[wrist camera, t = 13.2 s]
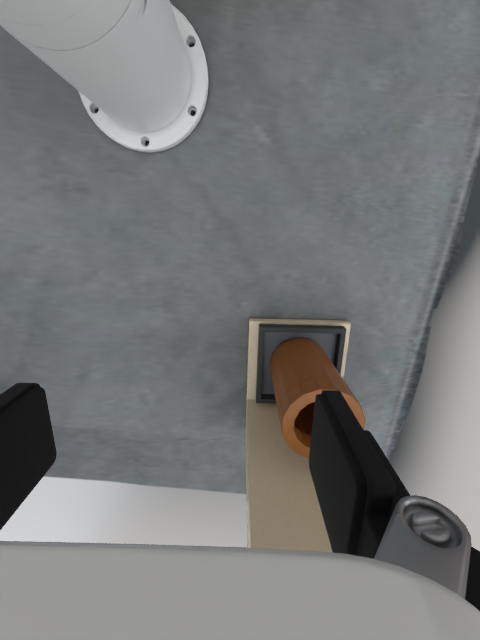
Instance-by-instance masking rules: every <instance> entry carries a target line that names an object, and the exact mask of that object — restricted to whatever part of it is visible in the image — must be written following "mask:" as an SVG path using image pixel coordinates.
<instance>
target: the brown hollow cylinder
mask: <svg viewBox="0 0 480 640" xmlns="http://www.w3.org/2000/svg"><path fill="white" fill-rule="evenodd" d="M270 373H271V378H272V383H273V389H274V394H275V399H276V404H277V409H278V414H279V419H280V424H281V429H282V433H283V436H284V438H285V441H286V443H287V445H289V446H290V447H291V448H292V449H293V450H294V451H295V452H296V453H298V454H299V455H302V456H305V457H307V458H309V453H310V444H311V435H312V425H313V416H314V407H315V398H316V395H317V394H321V392H322V391H323V390H338V391H340V392H341V393H342V395H343V397H344V398H345V400H346V402H347V403H348V405H349V407H350V408H351V410H352V412H353V413H354V415H355V417H356V418H357V420H358V422H359V423H360V425H361V427H362V428H363V430H364V425H365V417H364V414H363V410H362V407H361V405H360V404H359V402H358V401H357V399H356V398H355V396H354V395H353V393H352V392H351V390H350V389H349V387H348V386H347V384H346V383H345V381H344V380H343V378H342V377H341V375H340V374H339V372H338V371H337V369H336V368H335V366H334V365H333V363H332V362H331V360H330V359H329V357H328V356H327V354H326V353H325V351H324V350H323V349H322V348H321V346H320V345H319V344H318V343H316V342H315V341H313V340H311V339H308V338H302V337H296V338H291V339H288V340H286V341H284V342H282V343H281V344H280V345H279V346H277V347H276V349H275V350H274V352H273V353H272V356H271V359H270Z"/></svg>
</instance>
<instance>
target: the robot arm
mask: <svg viewBox="0 0 480 640" xmlns="http://www.w3.org/2000/svg"><path fill="white" fill-rule="evenodd" d="M0 26H1V27H3V28H4V29H5V30H6V31H7V32H9V33H10V34H11V35H12V36H13V37H15V38H16V39H17V40H18V41H19V42H21V43H22V44H23V45H24V46H25V47H27V48H28V49H29V50H30V51H31V52H33V53H34V54H35V55H36V56H37V57H39V58H40V59H41V60H42V61H43V62H45V63H46V64H47V65H48V66H49V67H50V68H52V69H53V70H54V71H55V72H56V73H58V74H59V75H60V76H61V77H62V78H64V79H65V80H66V81H67V82H68V83H70V84H71V85H72V86H73V87H74V88H76V89H77V90H78V91H79V94H80V97H81V100H82V102H83V105H84V106H85V108H86V110H87V112H88V114H89V116H90V117H91V118H92V120H93V121H94V122H95V124H96V125H97V126H98V127H99V128H100V129H101V130H102V131H103V132H104V133H105V134H106V135H107V136H108V137H110V138H111V139H113V140H114V141H115V142H117V143H119V144H121V145H123V146H124V147H126V148H129V149H132V150H135V151H139V152H150V153H152V152H159V151H164V150H167V149H169V148H172V147H174V146H176V145H177V144H179V143H180V142H182V141H183V140H184V139H186V138H187V137H188V136H189V135H190V134H191V133H192V131H193V130H194V128H195V127H196V125H197V124H198V123H199V121H200V118H201V116H202V114H203V112H204V109H205V105H206V101H207V97H208V85H209V79H208V68H207V63H206V58H205V54H204V51H203V48H202V45H201V42H200V39H199V38H198V36H197V34H196V32H195V30H194V28H193V26H192V25H191V24H190V23H189V21H188V20H187V19H186V17H185V16H184V15H183V14H182V13H181V12H180V11H179V10H178V9H177V8H175V7H174V6H173V5H172V4H171V3H170V0H0ZM191 44H194V46H193V47H190V45H191ZM97 109H99V111H98V112H97V113H96V110H97ZM193 111H194V112H196V114H195V115H194V116H192V115H191V113H192V112H193ZM147 141H149V145H148V146H146V142H147ZM55 459H56V447H55V442H54V437H53V431H52V426H51V421H50V416H49V410H48V405H47V400H46V394H45V390H44V389H43V388H41V387H40V385H39V384H37V383H17V384H15V385H14V386H12V387H11V388H9V389H8V390H6V391H5V392H4V393H2V394H1V395H0V530H1V529H2V527H3V526H4V525H5V524H6V522H7V521H8V520H9V519H10V517H11V516H12V515H13V514H14V512H15V511H16V510H17V509H18V507H19V506H20V504H21V503H22V502H23V501H24V500H25V498H26V497H27V496H28V495H29V493H30V492H31V491H32V490H33V488H34V487H35V486H36V485H37V484H38V482H39V481H40V480H41V478H42V477H43V476H44V475H45V474H46V472H47V471H48V470H49V469H50V467H51V466H52V465H53V463H54V461H55ZM309 468H310V473H311V476H312V480H313V483H314V487H315V491H316V494H317V498H318V501H319V505H320V509H321V512H322V516H323V519H324V523H325V527H326V530H327V534H328V537H329V541H330V545H331V548H332V552H333V553H331V552H320V551H308V550H288V549H267V548H245V547H244V548H243V547H211V546H179V545H147V544H146V545H145V544H107V543H105V544H104V543H65V542H19V541H0V640H480V551H478V550H476V549H474V548H473V547H471V536H470V534H469V532H468V530H467V528H466V526H465V525H464V523H463V522H462V521H461V520H460V519H459V517H458V516H457V515H455V514H454V513H453V512H452V511H450V510H449V509H448V508H447V507H445V506H443V505H442V504H440V503H438V502H436V501H434V500H431V499H428V498H426V497H421V496H410V494H409V493H408V491H407V490H406V488H405V486H404V485H403V483H402V482H401V480H400V478H399V477H398V475H397V474H396V472H395V470H394V469H393V467H392V466H391V464H390V463H389V461H388V459H387V458H386V456H385V455H384V453H383V451H382V450H381V448H380V447H379V445H378V443H377V442H376V440H375V439H374V437H373V435H372V434H371V433H370V432H369V431H367V430H363V428H362V427H361V425H360V423H359V422H358V420H357V418H356V417H355V415H354V413H353V412H352V410H351V408H350V407H349V405H348V403H347V402H346V400H345V398H344V397H343V395H342V393H341V392H340V391H338V390H323V391H322V392H321V394H317V395H316V398H315V407H314V416H313V425H312V435H311V444H310V453H309Z"/></svg>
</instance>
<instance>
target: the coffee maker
mask: <svg viewBox="0 0 480 640" xmlns="http://www.w3.org/2000/svg"><path fill="white" fill-rule="evenodd" d="M350 327H351V323H350V322H349V321H341V320H299V319H257V318H249V338H248V369H247V399H246V429H245V431H246V496H247V548H267V549H288V550H308V551H320V552H331V553H333V552H332V548H331V545H330V541H329V537H328V534H327V530H326V527H325V523H324V519H323V516H322V512H321V509H320V505H319V501H318V498H317V494H316V491H315V487H314V483H313V480H312V476H311V473H310V468H309V458H307V457H305V456H302V455H299V454H298V453H296V452H295V451H294V450H293V449H292V448H291V447H290V446H289V445H287V443H286V441H285V438H284V436H283V433H282V429H281V424H280V419H279V414H278V409H277V404H276V399H275V394H274V389H273V383H272V378H271V373H270V359H271V356H272V353H273V352H274V350H275V349H276V347H277V346H279V345H280V344H281V343H282V342H284V341H286V340H288V339H291V338H296V337H302V338H308V339H311V340H313V341H315V342H316V343H318V344H319V345H320V346H321V348H322V349H323V350H324V351H325V353H326V354H327V356H328V357H329V359H330V360H331V362H332V363H333V365H334V366H335V368H336V369H337V371H338V372H339V374H340V375H341V377H342V378H344V371H345V364H346V356H347V349H348V342H349V334H350Z"/></svg>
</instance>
